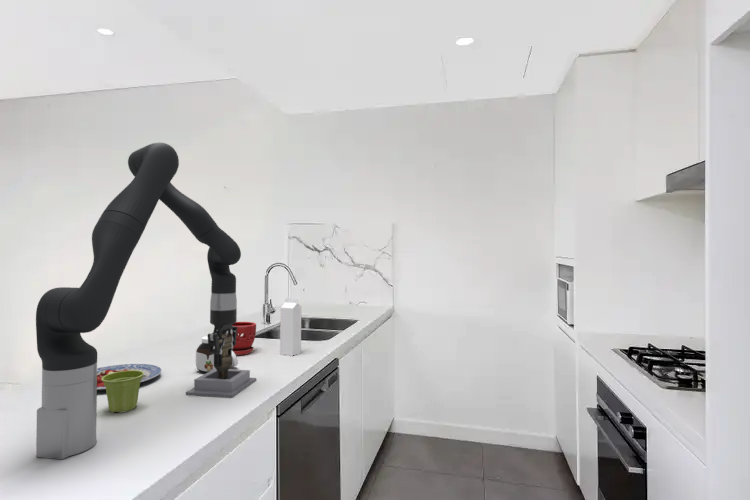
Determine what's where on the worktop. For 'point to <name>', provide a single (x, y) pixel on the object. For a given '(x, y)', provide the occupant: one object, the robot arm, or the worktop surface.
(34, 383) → the worktop surface
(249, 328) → the plant pot
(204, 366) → the spread jar
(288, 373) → the worktop surface
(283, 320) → the milk
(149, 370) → the ceramic plate
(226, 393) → the socket board
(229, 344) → the brown tall knobbly piece
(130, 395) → the plant pot
